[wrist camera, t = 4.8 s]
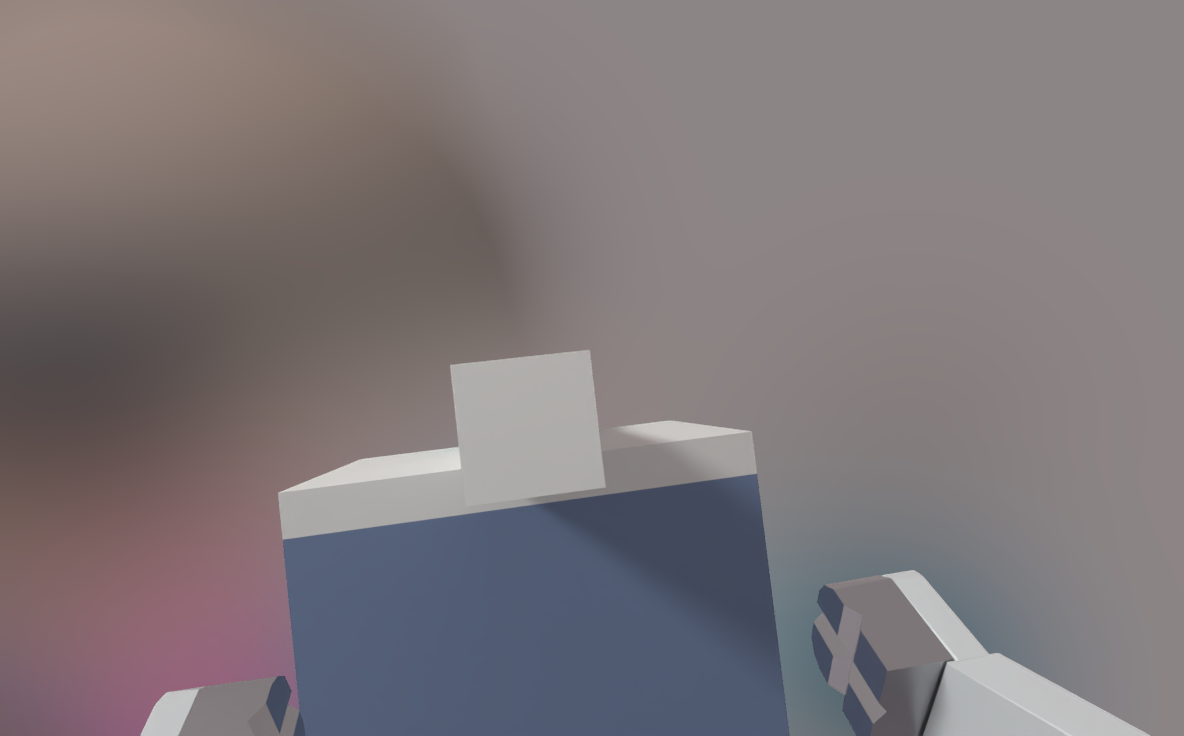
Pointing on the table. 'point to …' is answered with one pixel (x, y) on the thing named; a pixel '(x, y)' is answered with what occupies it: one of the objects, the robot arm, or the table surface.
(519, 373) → the white and teal box
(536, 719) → the tall slate-blue pillar
